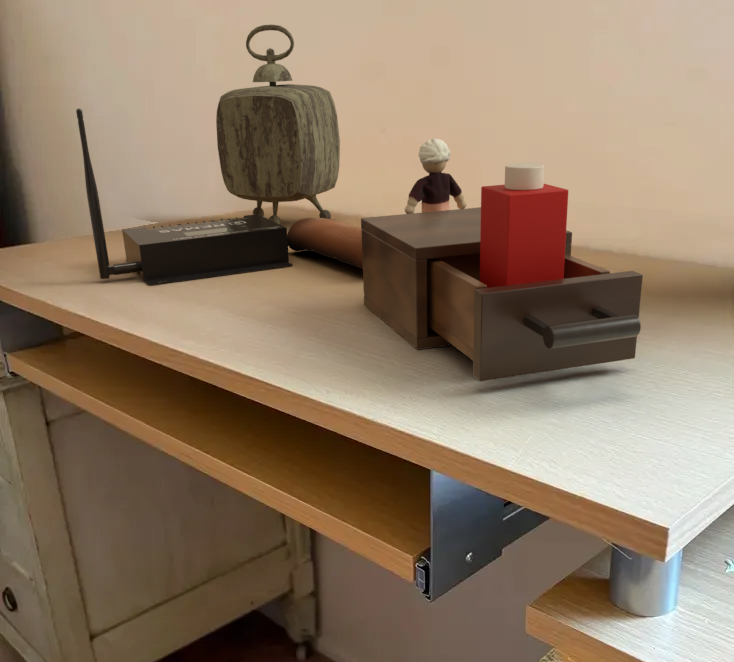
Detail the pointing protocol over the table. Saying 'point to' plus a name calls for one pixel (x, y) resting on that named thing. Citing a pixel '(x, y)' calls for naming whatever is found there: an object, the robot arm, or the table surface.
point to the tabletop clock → (278, 137)
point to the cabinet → (414, 264)
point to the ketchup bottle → (522, 228)
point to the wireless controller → (187, 243)
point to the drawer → (534, 317)
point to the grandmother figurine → (434, 181)
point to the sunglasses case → (327, 239)
